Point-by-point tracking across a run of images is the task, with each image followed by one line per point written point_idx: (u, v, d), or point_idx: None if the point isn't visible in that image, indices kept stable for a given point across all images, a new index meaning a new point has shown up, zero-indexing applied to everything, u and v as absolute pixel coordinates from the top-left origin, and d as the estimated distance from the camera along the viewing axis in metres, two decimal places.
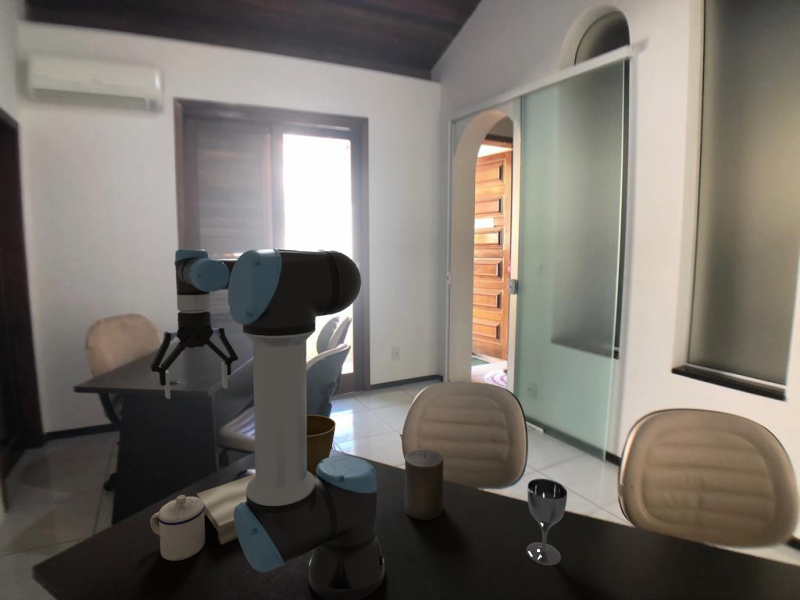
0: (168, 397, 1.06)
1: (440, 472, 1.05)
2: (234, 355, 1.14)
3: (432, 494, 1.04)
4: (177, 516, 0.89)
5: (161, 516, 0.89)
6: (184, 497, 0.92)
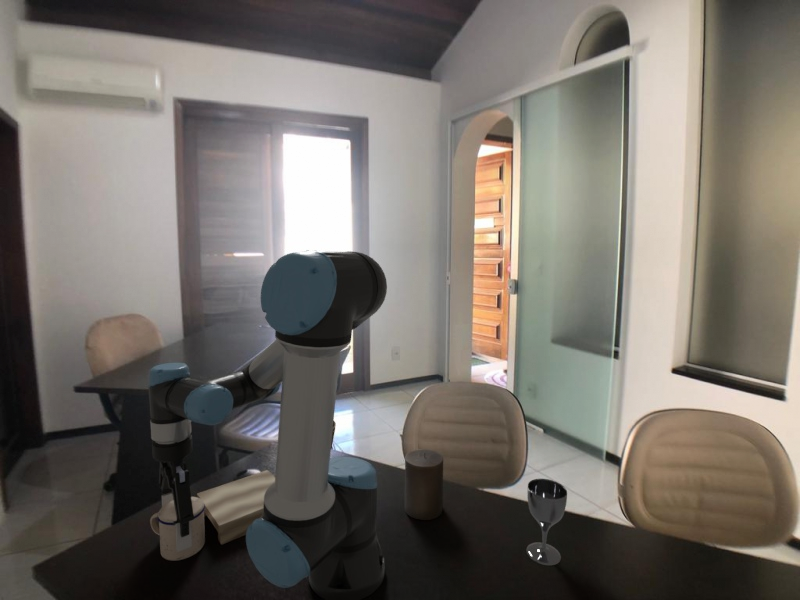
0: None
1: (440, 472, 1.05)
2: (179, 516, 0.85)
3: (432, 494, 1.04)
4: None
5: (161, 516, 0.89)
6: None
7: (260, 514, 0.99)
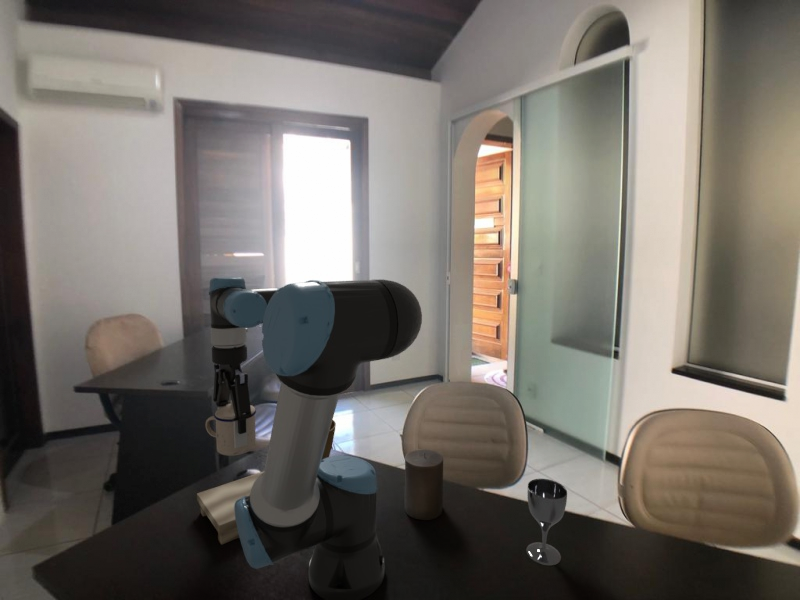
0: None
1: (440, 472, 1.05)
2: (239, 412, 0.94)
3: (432, 494, 1.04)
4: (234, 414, 0.97)
5: (219, 415, 0.97)
6: None
7: None
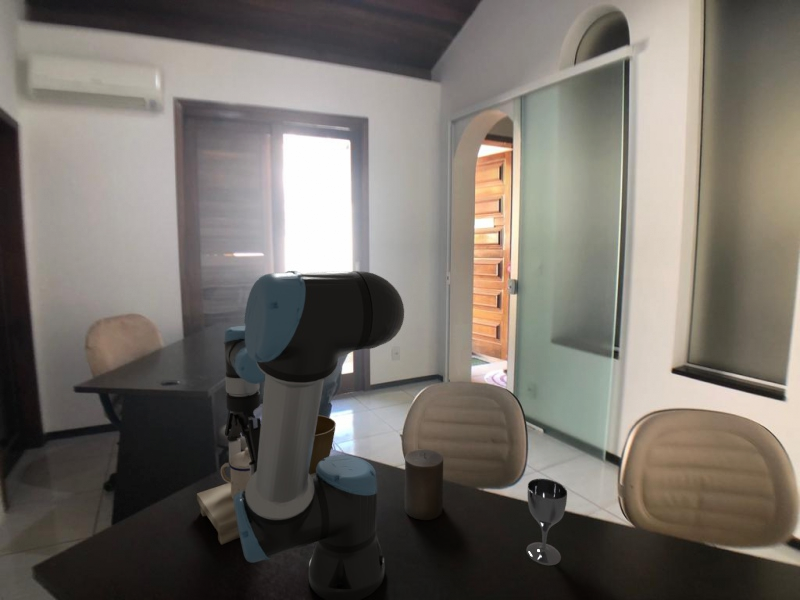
0: None
1: (440, 472, 1.05)
2: (254, 457, 0.96)
3: (432, 494, 1.04)
4: (247, 463, 1.01)
5: (233, 464, 1.01)
6: None
7: None
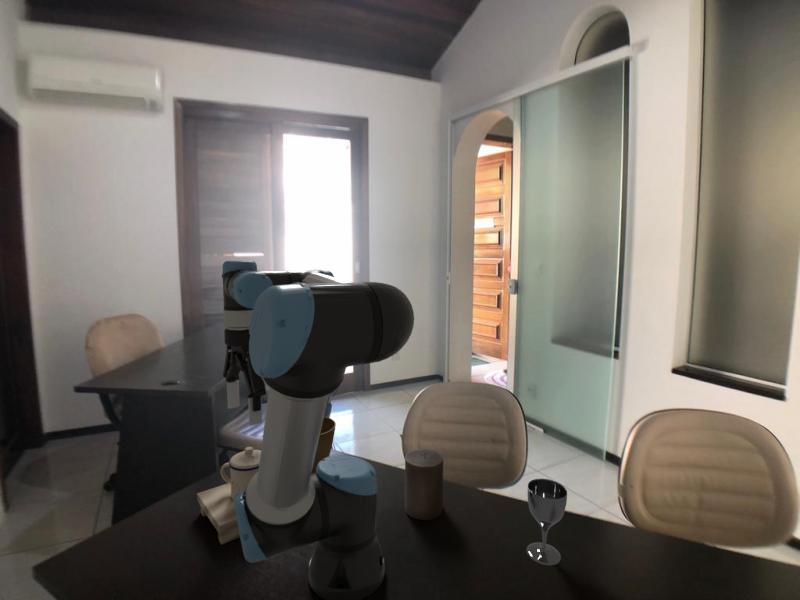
0: (228, 407, 1.07)
1: (440, 472, 1.05)
2: (253, 390, 0.94)
3: (432, 494, 1.04)
4: (247, 463, 1.01)
5: (233, 464, 1.01)
6: (251, 448, 1.04)
7: None
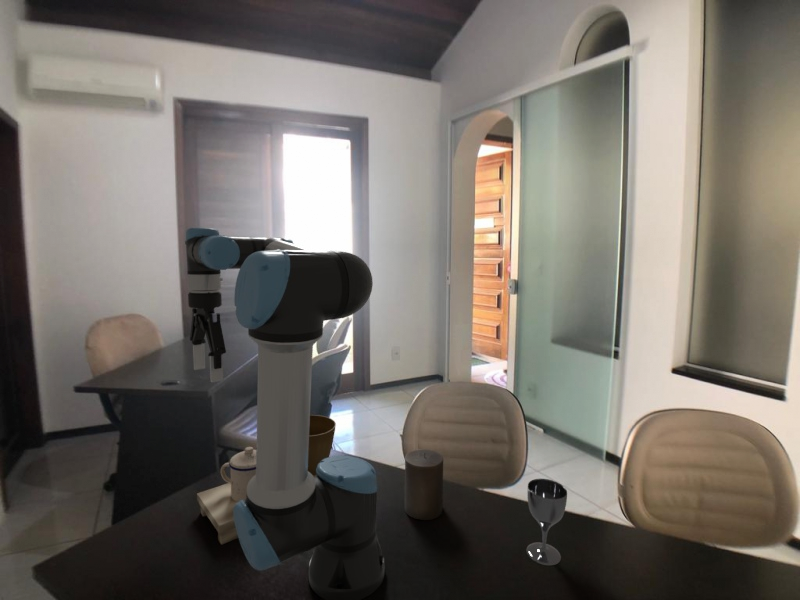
0: (194, 368, 1.13)
1: (440, 472, 1.05)
2: (213, 348, 1.00)
3: (432, 494, 1.04)
4: (247, 463, 1.01)
5: (233, 464, 1.01)
6: (251, 448, 1.04)
7: None
